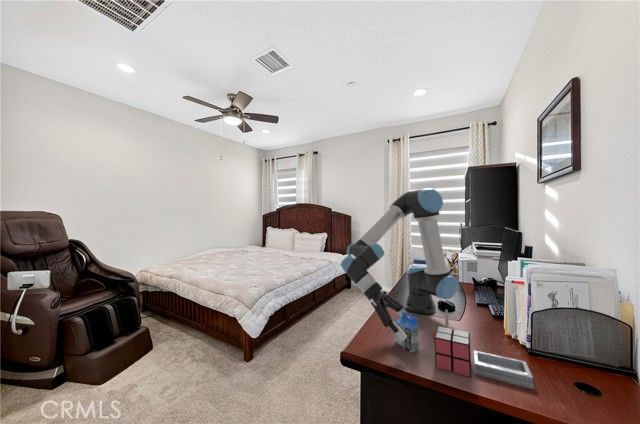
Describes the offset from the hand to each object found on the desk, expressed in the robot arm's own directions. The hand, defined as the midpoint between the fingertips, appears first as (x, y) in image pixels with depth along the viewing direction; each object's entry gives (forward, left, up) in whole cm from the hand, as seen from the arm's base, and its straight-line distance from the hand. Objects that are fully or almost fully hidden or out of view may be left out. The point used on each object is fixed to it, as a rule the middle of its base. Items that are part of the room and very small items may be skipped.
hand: (408, 331), depth 92 cm
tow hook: (-14, +11, -6) cm, 19 cm away
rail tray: (+2, +28, -6) cm, 29 cm away
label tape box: (0, -1, -6) cm, 6 cm away
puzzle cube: (+4, +15, -6) cm, 17 cm away
